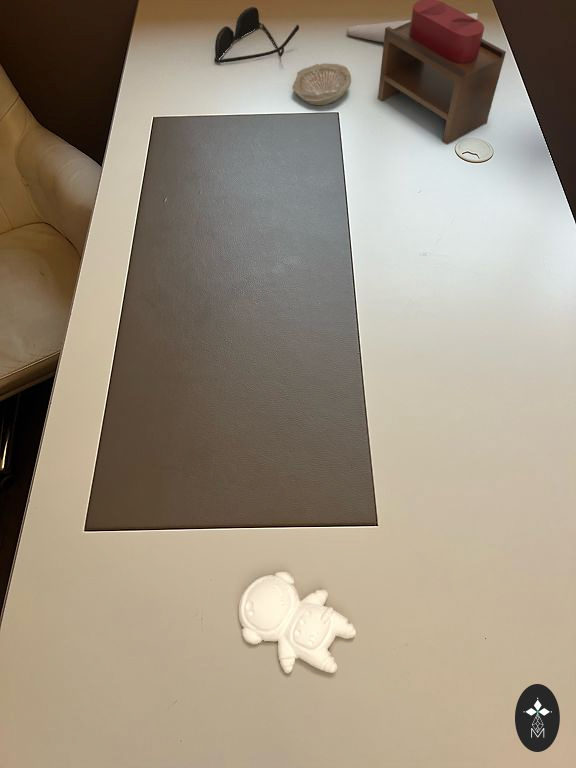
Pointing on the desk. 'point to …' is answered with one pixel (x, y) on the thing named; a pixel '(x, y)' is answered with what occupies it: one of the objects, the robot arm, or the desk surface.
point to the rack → (441, 80)
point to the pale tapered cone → (380, 29)
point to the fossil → (322, 83)
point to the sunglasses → (244, 25)
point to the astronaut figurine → (292, 621)
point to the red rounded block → (446, 30)
